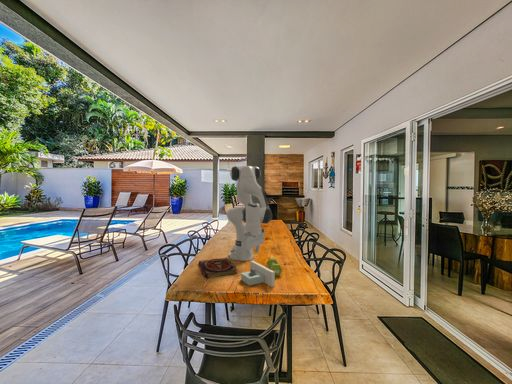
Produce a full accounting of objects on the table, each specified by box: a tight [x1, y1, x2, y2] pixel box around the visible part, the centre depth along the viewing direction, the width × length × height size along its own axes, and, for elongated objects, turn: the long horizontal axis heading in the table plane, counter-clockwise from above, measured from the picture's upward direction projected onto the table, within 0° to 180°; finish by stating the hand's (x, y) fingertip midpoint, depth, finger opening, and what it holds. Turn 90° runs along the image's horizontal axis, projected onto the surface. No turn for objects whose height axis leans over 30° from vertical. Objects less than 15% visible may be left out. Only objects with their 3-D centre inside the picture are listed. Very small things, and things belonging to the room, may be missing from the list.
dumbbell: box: [266, 257, 283, 277], centre depth 164 cm, size 16×8×7 cm, turn 6°
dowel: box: [249, 269, 255, 276], centre depth 147 cm, size 3×3×7 cm
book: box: [198, 257, 238, 279], centre depth 170 cm, size 28×21×5 cm
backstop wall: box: [249, 260, 276, 287], centre depth 150 cm, size 24×2×8 cm, turn 31°
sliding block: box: [240, 270, 265, 286], centre depth 147 cm, size 10×10×4 cm
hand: (252, 254), depth 147 cm, fingers open, 8 cm apart
